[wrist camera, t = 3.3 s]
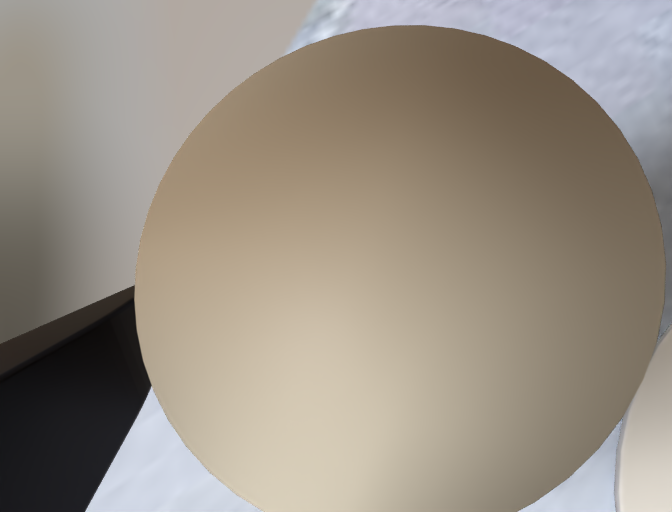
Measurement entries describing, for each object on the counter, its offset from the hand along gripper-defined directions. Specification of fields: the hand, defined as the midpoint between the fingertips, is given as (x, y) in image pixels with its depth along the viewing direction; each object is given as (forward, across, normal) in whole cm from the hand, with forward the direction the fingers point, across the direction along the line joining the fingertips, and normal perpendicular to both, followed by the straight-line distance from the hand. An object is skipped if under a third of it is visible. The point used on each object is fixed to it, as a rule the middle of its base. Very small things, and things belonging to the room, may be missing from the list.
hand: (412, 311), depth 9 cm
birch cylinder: (+5, 0, +6) cm, 8 cm away
